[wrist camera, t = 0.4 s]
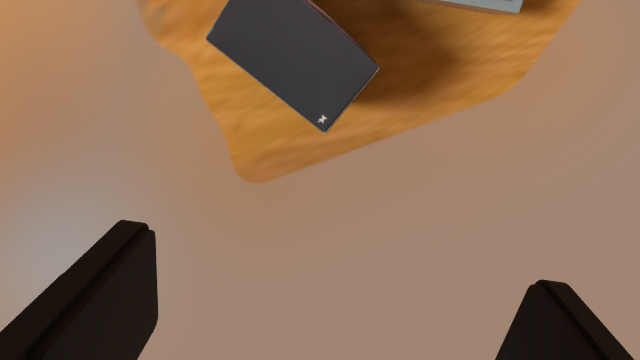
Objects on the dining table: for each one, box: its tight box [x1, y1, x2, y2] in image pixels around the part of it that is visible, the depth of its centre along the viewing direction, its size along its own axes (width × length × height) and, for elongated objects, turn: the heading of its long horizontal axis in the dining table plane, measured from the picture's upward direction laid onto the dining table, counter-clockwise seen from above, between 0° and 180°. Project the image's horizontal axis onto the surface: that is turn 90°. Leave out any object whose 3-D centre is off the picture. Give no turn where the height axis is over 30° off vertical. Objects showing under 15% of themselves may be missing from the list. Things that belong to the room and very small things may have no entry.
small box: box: [206, 0, 380, 133], centre depth 30 cm, size 11×6×10 cm, turn 51°
